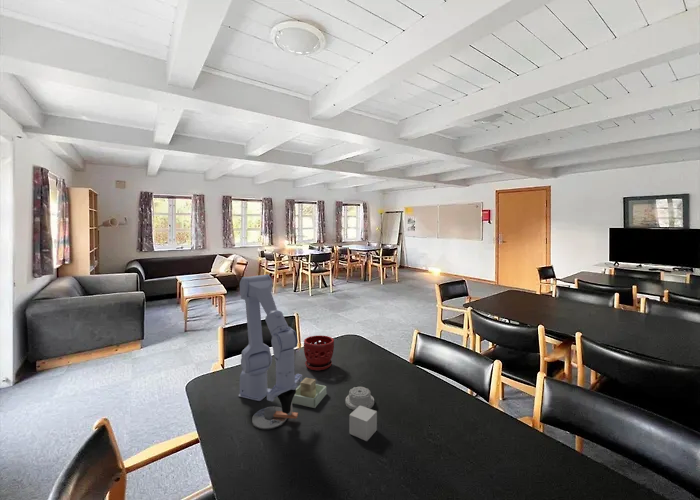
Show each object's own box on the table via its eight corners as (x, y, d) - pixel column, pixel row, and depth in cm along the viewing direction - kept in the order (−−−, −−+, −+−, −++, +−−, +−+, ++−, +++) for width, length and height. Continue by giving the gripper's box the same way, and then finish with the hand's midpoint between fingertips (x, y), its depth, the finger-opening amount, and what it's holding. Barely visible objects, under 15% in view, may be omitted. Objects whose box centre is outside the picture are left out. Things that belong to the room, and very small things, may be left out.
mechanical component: (342, 410, 107) (372, 413, 105) (342, 397, 107) (372, 400, 105) (348, 394, 117) (375, 397, 115) (348, 382, 116) (375, 385, 114)
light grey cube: (349, 434, 94) (349, 414, 94) (360, 423, 99) (359, 405, 99) (366, 441, 91) (366, 421, 91) (377, 430, 96) (376, 411, 96)
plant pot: (333, 372, 133) (332, 345, 132) (301, 372, 134) (301, 345, 133) (335, 359, 146) (334, 334, 145) (306, 359, 147) (306, 334, 146)
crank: (262, 418, 100) (261, 400, 100) (266, 411, 104) (266, 394, 103) (295, 421, 99) (295, 403, 98) (298, 414, 102) (298, 397, 102)
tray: (290, 402, 111) (289, 394, 111) (303, 389, 120) (303, 381, 120) (314, 408, 108) (314, 399, 107) (326, 393, 117) (326, 386, 116)
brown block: (300, 399, 112) (300, 382, 112) (305, 393, 116) (305, 377, 116) (310, 401, 111) (310, 384, 110) (315, 395, 115) (315, 379, 114)
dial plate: (244, 425, 99) (244, 422, 99) (265, 406, 109) (265, 403, 109) (275, 432, 95) (275, 429, 95) (294, 412, 105) (293, 409, 105)
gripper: (279, 382, 90) (280, 429, 91) (309, 363, 103) (310, 404, 103) (260, 377, 93) (262, 422, 94) (292, 359, 106) (293, 398, 107)
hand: (286, 412), depth 99 cm, fingers closed
